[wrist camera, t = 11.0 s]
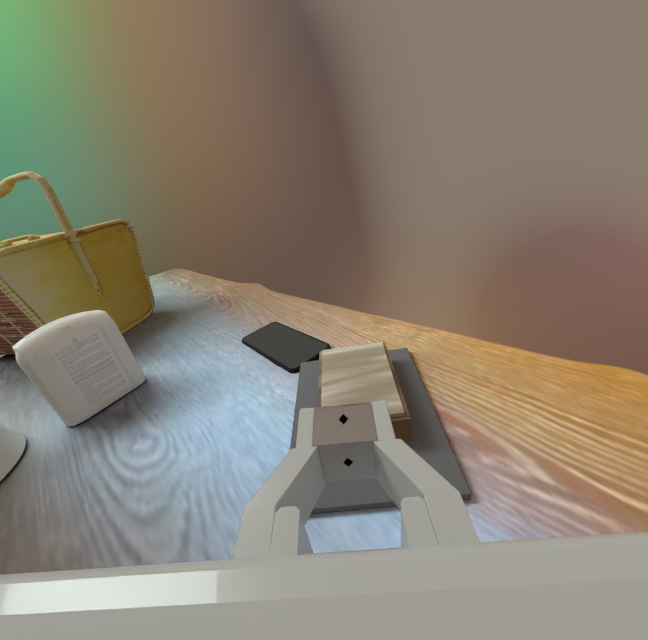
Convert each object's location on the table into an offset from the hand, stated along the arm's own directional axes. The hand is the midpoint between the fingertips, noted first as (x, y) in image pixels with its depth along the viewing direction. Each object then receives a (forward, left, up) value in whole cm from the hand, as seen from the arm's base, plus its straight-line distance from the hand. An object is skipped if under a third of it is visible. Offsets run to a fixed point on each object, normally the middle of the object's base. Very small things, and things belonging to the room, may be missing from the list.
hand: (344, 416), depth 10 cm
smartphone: (+17, +27, -16) cm, 36 cm away
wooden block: (+8, +6, -13) cm, 17 cm away
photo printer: (-4, +40, -16) cm, 43 cm away
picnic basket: (-1, +73, -16) cm, 75 cm away
